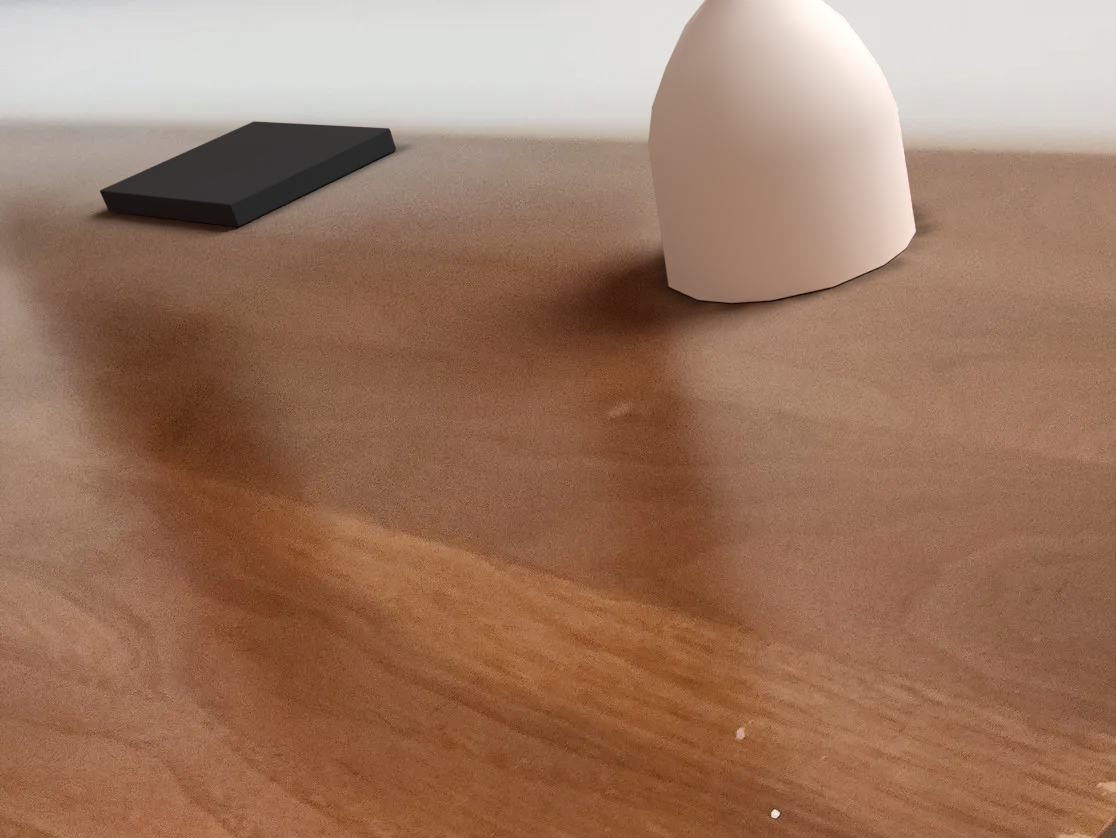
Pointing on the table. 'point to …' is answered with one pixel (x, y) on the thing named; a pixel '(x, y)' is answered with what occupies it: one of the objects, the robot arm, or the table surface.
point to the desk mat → (248, 172)
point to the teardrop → (775, 154)
